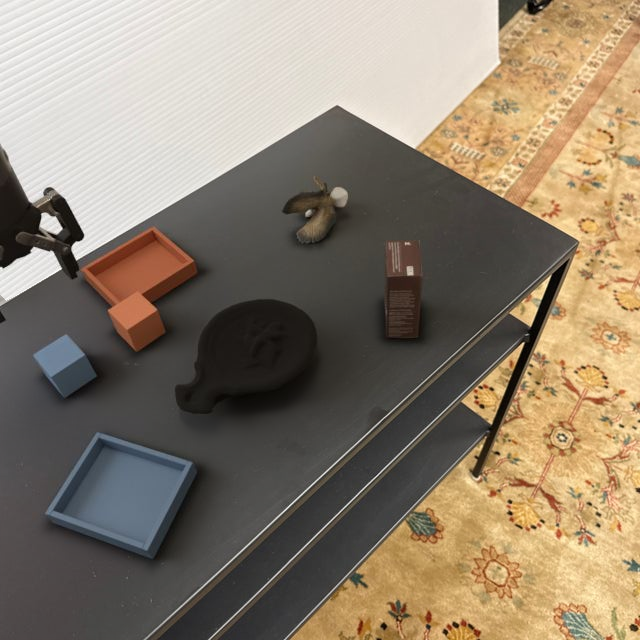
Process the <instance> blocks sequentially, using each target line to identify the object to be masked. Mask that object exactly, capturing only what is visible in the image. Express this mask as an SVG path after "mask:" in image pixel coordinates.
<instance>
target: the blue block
mask: <svg viewBox="0 0 640 640" xmlns="http://www.w3.org/2000/svg"><path fill="white" fill-rule="evenodd" d="M32 356H33V358H34V359H35V361H36V363H37V364H38V365H39V367H40V369H41V370H42V372H43V374H44V375H45V376H46V378H47V379H48V380H49V381H50V382H51V384H52V385H53V386H54V388H55V389H56V390H57V391H58V392H59V393H60V395H61V396H62V397H63V398H64V399H66V398H67V397H68V396H70V395H72V394H73V393H74V392H76V391H77V390H79V389H80V388H82V387H83V386H85V385H86V384H88V383H89V382H91V381H92V380H93V379H95V378H97V376H98V375H97V374H96V372H95V370H94V368H93V367H92V364H91V362H90V361H89V359H88V357H87V355H86V354H85V352H83V350H82V349H81V348H80V347H79V345H77V344H76V342H74V340H73V339H72V338H71V336H69V335H68V334H66V333H65V334H64V335H62V336H61V337H59V338H57V339H56V340H54V341H53V342H51V343H50V344H48V345H46V346H45V347H43V348H41V349H40V350H38V351H37V352H35V353H34V354H33V355H32Z"/></svg>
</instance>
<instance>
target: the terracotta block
mask: <svg viewBox="0 0 640 640" xmlns="http://www.w3.org/2000/svg"><path fill="white" fill-rule="evenodd" d="M107 312H108V314H109V317H110V319H111V321H112V324H113V325H114V328H115V330H116V332H117V334H118V335H119V336H120V337H121V338H122V339H123V340H124V341H125V342H126V343H127V344H128V345H129V346H130V347H131V348H132V349H133V350H134V351H135V352H136V353H137V352H139V351H141V350H142V349H143V348H145V347H146V346H147V345H149V344H151V343H152V342H154V341H155V340H156V339H158V338H159V337H161V336H162V335H164V334H165V333H166V330H165V326H164V323H163V321H162V318H161V315H160V313H159V310H158V309H157V308H156V307H155V305H153V304H152V303H150V302H149V301H148V300H147V299H146V298H144V297H143V296H142V295H141V294H140V293H139V292H138V291H137V292H136V293H134V294H133V295H131V296H129V297H128V298H126V299H125V300H123V301H121V302H120V303H118V304H117V305H115V306H114V307H112V306H111V307H110V308H109V309H108V310H107Z"/></svg>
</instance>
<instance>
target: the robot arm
mask: <svg viewBox="0 0 640 640" xmlns="http://www.w3.org/2000/svg"><path fill="white" fill-rule="evenodd" d="M42 194H43V196H42V197H40V198H38V199H37V200H35V201H33V202H31V201H30V200H29V197H28V196H27V193H26V192H25V189H24V188H23V186H22V184H21V182H20V180H19V178H18V177H17V174H16V172H15V169H14V168H13V166H12V164H11V162H10V158H9V155H8V153H7V151H6V150H5V149H4V148H3V145H1V143H0V268H2V269H5V268H8V267H9V266H11V265H12V264H13V263H14V262H15V261H17V260H19V259H22V258H25V257H27V256H28V255H30V254H32V251H33V248H37V249H40V250H42V251H45V252H53V254H54V256H55V259H56V260H57V262H58V264H59V266H60V268H61V270H62V272H63V273H64V274H65V275H66V276H67V277H68V278H69V279H70V280H71V281H74V280H76V279H77V278H78V277H79V276H78V274H77V273H78V272H79V271H80V265H79V263H78V261H77V259H76V257H75V255H74V253H73V246H74V244H75V243H77V242H82V241H83V240H84V239H85V233H84V231H83V229H82V227H81V224H79V222H78V219H77V218H76V216H75V214H74V212H73V210H72V208H71V207H70V205H69V202H68V201H67V199H66V198H65V197H64V196H63V195H62V194H60V192H58V191H57V190H56V189H55V188H54V187H52V186H48V187H46V188H44V189H43V193H42ZM42 214H47V215H49V216H50V217H51V218H53V217H55V218H56V220H57V221H58V224H59V225H60V227H61V230H60V231H59V232H58V233H56V232H53V231H50V230H47V229H44V228H43V227H42V226H41V222H42V219H43V218H42V217H43V215H42ZM6 321H7V318H6V317H5V315H4V313H3V312H2V311H1V310H0V324H2V323H4V322H6Z"/></svg>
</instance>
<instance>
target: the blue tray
mask: <svg viewBox="0 0 640 640" xmlns="http://www.w3.org/2000/svg"><path fill="white" fill-rule="evenodd" d="M197 474H198V471H197V468H196V467H195V464H194V462H193V461H190V460H187V459H184V458H181V457H178V456H174V455H172V454H168V453H165V452H162V451H159V450H155V449H153V448H149V447H146V446H143V445H140V444H138V443H137V444H136V443H134V442H130V441H126V440H125V439H121V438H117V437H114V436H112V435H109V434H105V433H101V432H98V431H97V432H95V435H94V436H93V437H92V439H91V441H90V443H89V444H88V445H87V447H86V448H85V450H84V452H83V453H82V455H81V457H80V458H79V459H78V461H77V462H76V464H75V466H74V468H72V470H71V472H70V473H69V475H68V476H67V478H66V480H65V481H64V483H63V485H62V486H61V488H60V489H59V491H58V493H57V494H56V495H55V497H54V498H53V500H52V502H51V504H50V505H49V506H48V508H47V510H46V511H45V512H44V514H45V515H46V517H47V518H48V519H49V520H50V521H51V522H52V523H53V524H55V525H58V526H61V527H64V528H66V529H68V530H72V531H74V532H77V533H80V534H83V535H85V536H89V537H91V538H93V539H96V540H99V541H102V542H104V543H108V544H110V545H112V546H115V547H118V548H121V549H124V550H127V551H130V552H132V553H134V554H138V555H140V556H143V557H146V558H149V559H151V560H154V559H155V556H156V555H157V553H158V551H159V549H160V547H161V545H162V543H163V541H164V539H165V537H166V535H167V533H168V531H169V529H170V527H171V525H172V523H173V521H174V519H175V517H176V515H177V514H178V511H179V509H180V507H181V505H182V503H183V501H184V500H185V498H186V495H187V493H188V491H189V490H190V488H191V485H192V484H193V482H194V480H195V478H196V476H197Z"/></svg>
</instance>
